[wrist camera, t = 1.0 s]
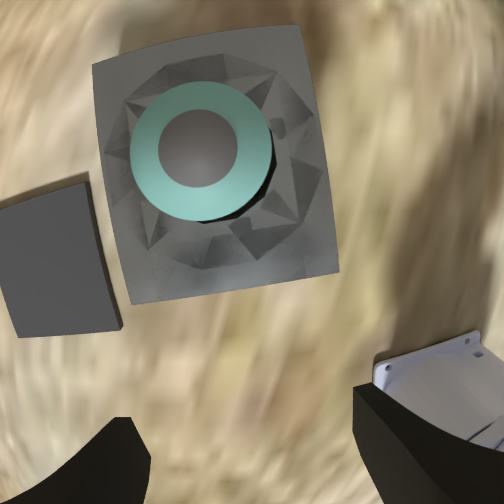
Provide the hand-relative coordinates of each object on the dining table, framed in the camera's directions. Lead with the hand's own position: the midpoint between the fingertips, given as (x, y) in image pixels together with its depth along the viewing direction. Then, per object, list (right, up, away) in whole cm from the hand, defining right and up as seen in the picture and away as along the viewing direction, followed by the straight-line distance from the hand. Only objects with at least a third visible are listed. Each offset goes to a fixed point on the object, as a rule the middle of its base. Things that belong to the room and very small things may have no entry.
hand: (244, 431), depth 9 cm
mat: (-13, +5, +9) cm, 16 cm away
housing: (-2, +10, +8) cm, 13 cm away
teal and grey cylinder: (-2, +10, +8) cm, 13 cm away
